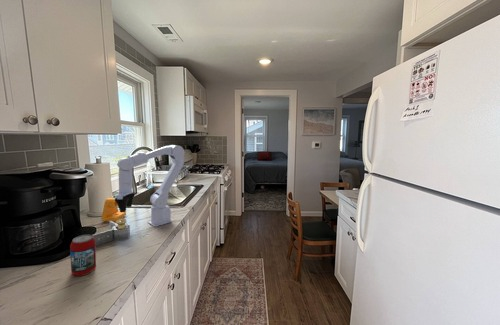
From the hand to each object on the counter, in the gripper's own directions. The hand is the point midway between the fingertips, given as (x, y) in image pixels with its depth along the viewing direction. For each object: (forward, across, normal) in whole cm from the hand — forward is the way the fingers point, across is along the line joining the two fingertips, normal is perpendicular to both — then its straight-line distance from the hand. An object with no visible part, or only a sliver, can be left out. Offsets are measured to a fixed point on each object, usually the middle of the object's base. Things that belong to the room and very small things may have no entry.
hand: (126, 209), depth 106 cm
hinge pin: (+10, +8, +1) cm, 13 cm away
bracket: (+11, -15, -11) cm, 22 cm away
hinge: (+10, +8, -5) cm, 14 cm away
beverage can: (+11, +34, -1) cm, 35 cm away
